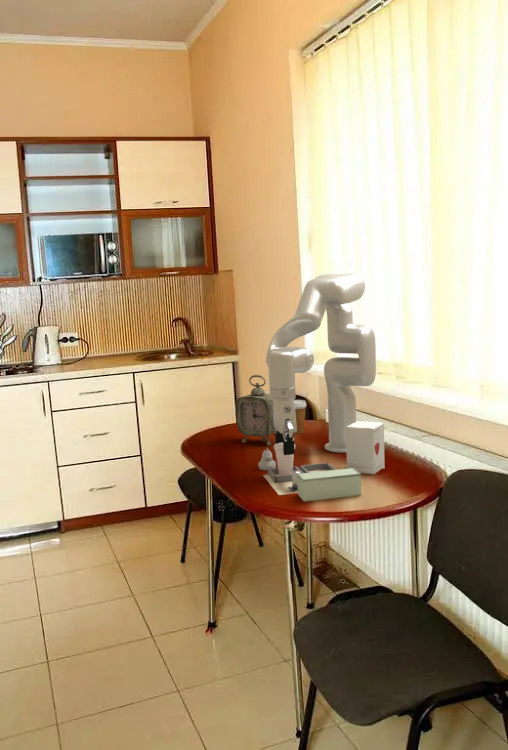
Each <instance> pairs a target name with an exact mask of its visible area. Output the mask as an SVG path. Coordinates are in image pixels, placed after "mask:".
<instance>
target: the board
mask: <svg viewBox="0 0 508 750" xmlns="http://www.w3.org/2000/svg"><path fill="white" fill-rule="evenodd" d="M320 471H328V470H327V469H324V470H314V471H309V472H320ZM262 476H263V477H264V478H265V480H266V481H267V482H268V483H269V485H270V486H271V487H272V489H273V490H274V491H275V492H276V493H277V495H278V496H284V495H293V494H298V490H295V489H292V481H289V482H280V483H274V481H273V480H272V479H271V478H270V476H269V475H268V474H263V475H262ZM276 476H279V474H276Z"/></svg>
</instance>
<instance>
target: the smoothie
mask: <svg viewBox="0 0 508 750" xmlns="http://www.w3.org/2000/svg"><path fill="white" fill-rule="evenodd" d="M286 436H287V434H286ZM294 448H295V449H296V444H295V443H294ZM273 449H274V452H275V458H276V465H277V468H278V470H279V476H282V475H291V474H292V471H293V466H294V460H295V459H294V458H295V457H294V455H295V454H293V455H284V454H283V443H277V444H273Z"/></svg>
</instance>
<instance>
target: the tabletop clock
mask: <svg viewBox="0 0 508 750" xmlns="http://www.w3.org/2000/svg"><path fill="white" fill-rule="evenodd" d="M253 378H260V379H262V380H263V383H262V384H259V382H255V384H254V383H252V381H251V380H252V379H253ZM248 382H249V384H250V386H253V387H254V388H252V389H251V391H250V394H247V395H244V396H241V397H238V398H237V400H236V402H235V417H236V426H237V430H238V433H240V434H242V435H244V436H245V437H244V438H242V439H241V442H242V443H243V444H245V443H247V439H248V437H249V436H250V437H257V438H259V437H261V441H264V442H266V439H267V442H266V446H268V447H269V446H271V445H272V441H270V435H271V434H275V427H274V422H273V400H271V399H270V393H265V390H264V389H263V388H262V387H265V385H266V382H267V381H266V378H265V377H263V376H262V375H259V374H255V375H251V376H250V377H249V379H248Z"/></svg>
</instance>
